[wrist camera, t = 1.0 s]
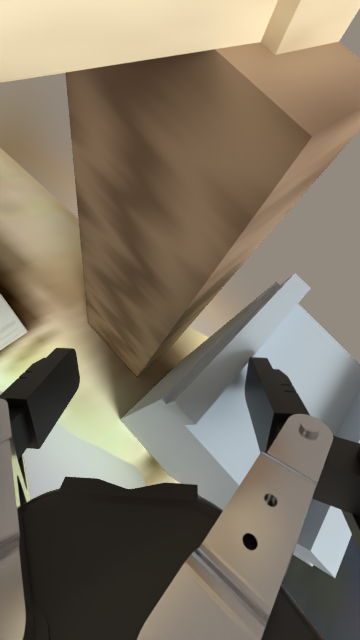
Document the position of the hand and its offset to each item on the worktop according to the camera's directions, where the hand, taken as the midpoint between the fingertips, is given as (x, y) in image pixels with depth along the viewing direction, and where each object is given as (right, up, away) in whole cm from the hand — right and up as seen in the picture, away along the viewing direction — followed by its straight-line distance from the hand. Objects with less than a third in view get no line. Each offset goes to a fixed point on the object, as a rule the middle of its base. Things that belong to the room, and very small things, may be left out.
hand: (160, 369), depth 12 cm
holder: (0, -10, +22) cm, 24 cm away
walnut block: (-6, 0, +25) cm, 25 cm away
